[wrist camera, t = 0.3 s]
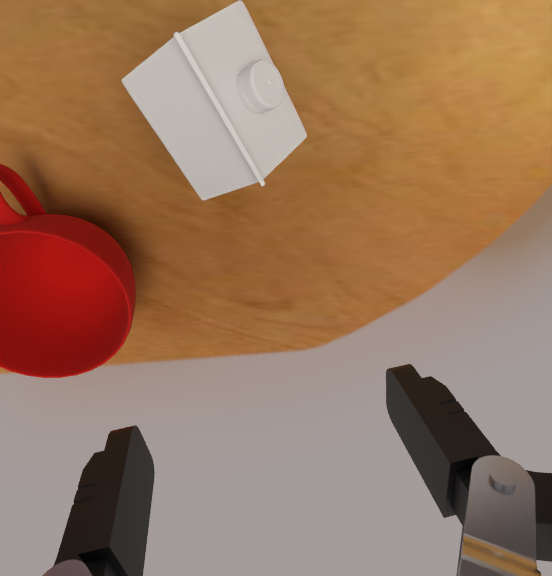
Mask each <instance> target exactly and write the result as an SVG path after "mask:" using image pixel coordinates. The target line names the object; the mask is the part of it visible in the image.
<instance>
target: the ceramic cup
mask: <svg viewBox="0 0 552 576" xmlns="http://www.w3.org/2000/svg"><path fill="white" fill-rule="evenodd" d="M0 181H1V182H2V183H3V184H4V185H5V186H6V187H7V188H8V189H9V190H10V191H11V193H12V194H13V195H14V196H15V198H16V199H17V200H18V202H19V203H20V204H21V206H22V207H23V209H24V210H25V212H26V213H27V215H28V216H24V215H21V214H19V213H17V212H16V211H14V210H13V209H12V208H11V207H10V206H9V205H8V203H7V202H6V201H5V199H4V198H3V196H2V194H1V192H0V225H1V226H0V367H2V368H4V369H7V370H9V371H12V372H16V373H19V374H24V375H27V376H35V377H43V378H50V377H51V378H57V377H58V378H61V377H67V376H74V375H78V374H81V373H85V372H88V371H91V370H93V369H95V368H97V367H98V366H100V365H102V364H104V363H105V362H107V361H108V360H109V359H110V358H111V357H113V356H114V355H115V354H116V353H117V352H118V350H119V349H120V348H121V347H122V345H123V344H124V342H125V340H126V338H127V336H128V334H129V331H130V329H131V324H132V319H133V314H134V308H135V298H136V294H135V278H134V274H133V271H132V267H131V264H130V262H129V260H128V258H127V256H126V254H125V252H124V250H123V249H122V248H121V247H120V245H119V244H118V243H117V242H116V240H115V239H113V238H112V237H111V236H110V235H109V234H108V233H107V232H106V231H104V230H102V229H101V228H99V227H98V226H96V225H95V224H92V223H90V222H88V221H85V220H83V219H80V218H76V217H72V216H68V215H58V214H47V213H46V212H45V210H44V209H43V207H42V205H41V204H40V202H39V201H38V199H37V198H36V196H35V195H34V193H33V192H32V191H31V189H30V188H29V187H28V185H27V184H26V183H25V182H24V180H23V179H22V178H21V177H20V176H19V175H18V174H17V173H16V172H14V171H13V170H12V169H10V168H8V167H6V166H4V165H2V164H0Z"/></svg>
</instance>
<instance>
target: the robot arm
mask: <svg viewBox="0 0 552 576" xmlns="http://www.w3.org/2000/svg"><path fill="white" fill-rule="evenodd" d="M386 404H387V410H388V413H389V416H390V419H391V421H392V423H393V425H394V427H395V429H396V430H397V432H398V434H399V436H400V438H401V440H402V441H403V443H404V445H405V447H406V449H407V451H408V453H409V454H410V456H411V458H412V460H413V462H414V464H415V465H416V467H417V469H418V471H419V473H420V475H421V476H422V478H423V480H424V482H425V484H426V486H427V487H428V489H429V491H430V493H431V495H432V497H433V498H434V500H435V502H436V504H437V506H438V508H439V509H440V511H441V513H442V515H443V517H444V518H445V517H449V516H453V515H457V517H458V519H459V520H460V522H461V524H462V525H463V528H462V535H461V543H460V551H459V559H458V567H457V575H456V576H541V573H540V571H538V570H537V564H536V560H542V561H551V562H552V473H540V472H532V471H528V470H525V469H524V468H523V467H521V466H520V465H519V464H518V463H516V462H514V461H512V460H510V459H508V458H505V457H502V456H500V455H499V453H498V452H497V451H496V450H495V449H494V447H493V446H492V445H491V444H490V442H489V441H488V440H487V438H486V437H485V436H484V435H483V433H482V432H481V431H480V429H479V428H478V427H477V426H476V424H475V423H474V422H473V421H472V419H471V418H470V417H469V415H468V414H467V413H466V412H464V409H463V408H462V406H461V405H460V404H459V402H457V401H456V399H455V397H454V396H453V395H452V394H451V392H450V391H449V390H448V388H447V387H446V386H445V385H443V384H442V383H440V382H439V381H437V380H436V379H434V378H433V377H431V376H430V377H426V378H421V377H420V375H419V374H418V373H417V371H416V370H415V368H414V367H413V366H412V365H411V364H407V365H403V366H399V367H394V368H389V369H387V371H386ZM153 483H154V464H153V460H152V457H151V454H150V452H149V450H148V447H147V445H146V443H145V441H144V439H143V436H142V434H141V432H140V430H139V428H138V427H137V426H131V427H126V428H123V429H118V430H113V431H111V432H110V433H109V435H108V439H107V442H106V446H105V450H104V451H101V452H97V453H94V455H93V456H92V457H91V459H90V460H89V462H88V463H87V465H86V466H85V468H84V469H83V472H82V475H81V478H80V482H79V485H78V490H77V492H76V495H75V498H74V505H72V508H71V512H70V515H69V518H68V522H67V525H66V528H65V532H64V535H63V538H62V542H61V545H60V548H59V552H58V555H57V558H56V561H55V564H54V566H53V567H52V568H51V569H50V570H48V571H47V572H46V573H45V574H44V575H43V576H143V569H144V560H145V552H146V543H147V535H148V526H149V518H150V509H151V501H152V492H153Z"/></svg>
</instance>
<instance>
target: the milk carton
mask: <svg viewBox="0 0 552 576" xmlns="http://www.w3.org/2000/svg"><path fill="white" fill-rule="evenodd" d="M121 81H122V83H123V85H124V86H125V88H126V89H127V91H128V92H129V94H130V95H131V97H132V98H133V100H134V101H135V103H136V104H137V106H138V107H139V109H140V110H141V112H142V113H143V115H144V116H145V118H146V119H147V121H148V122H149V124H150V125H151V126H152V128H153V129H154V131H155V132H156V134H157V135H158V137H159V138H160V140H161V141H162V143H163V144H164V146H165V147H166V149H167V150H168V151H169V153H170V154H171V156H172V157H173V159H174V160H175V162H176V163H177V165H178V166H179V168H180V169H181V171H182V172H183V174H184V175H185V177H186V178H187V179H188V181H189V182H190V184H191V185H192V187H193V188H194V190H195V191H196V193H197V194H198V195H199V197H200V198H201V199H202V200H203V201H204V200H207V199H210V198H213V197H216V196H219V195H222V194H225V193H228V192H231V191H234V190H236V189H239V188H242V187H245V186H248V185H251V184H254V183H257V182H259V183H260V184H261V186H264V185H265V182H264V180H263V179H264V178H265V177H266V176H267V175H268V174H269V173H270V172H271V171H272V170H273V169H274V168H275V167H276V166H278V165H279V164H280V163H281V162H282V161H283V160H284V159H285V158H286V157H287V156H288V155H289V154H290V153H291V152H292V151H293V150H294V149H295V148H296V147H297V146H298V145H299V144H300V143H301V142H302V141H303V140H304V139H305V138H306V137H307V135H306V131H305V129H304V127H303V124H302V122H301V120H300V118H299V116H298V114H297V112H296V109H295V107H294V105H293V103H292V101H291V99H290V97H289V95H288V93H287V91H286V89H285V87H284V83H283V80H282V77H281V75H280V73H279V71H278V70H277V68H276V67H275V66H274V64H273V62H272V60H271V58H270V55H269V53H268V51H267V49H266V47H265V45H264V43H263V41H262V39H261V37H260V35H259V33H258V31H257V28H256V26H255V24H254V22H253V20H252V18H251V16H250V14H249V12H248V10H247V8H246V7H245V5H244V3H243V2H242V1H241V0H239V1H237V2H235V3H233V4H232V5H230V6H228V7H226V8H224V9H222V10H221V11H219V12H217V13H215V14H213V15H212V16H210V17H208V18H206V19H204V20H202V21H201V22H199V23H197V24H195V25H193V26H191V27H190V28H188V29H186V30H184V31H182V32H180V33H178V32H175V33H174V37H173V38H172V39H171V40H169V41H168V42H167V43H166V44H164V45H163V46H162V47H161V48H160V49H158V50H157V51H156V52H155V53H153V54H152V55H151V56H150V57H149V58H147V59H146V60H145V61H144V62H142V63H141V64H140V65H139V66H138V67H136V68H135V69H134V70H133V71H131V72H130V73H129V74H128V75H126V76H125V77H124V78H123V79H122V80H121Z"/></svg>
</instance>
